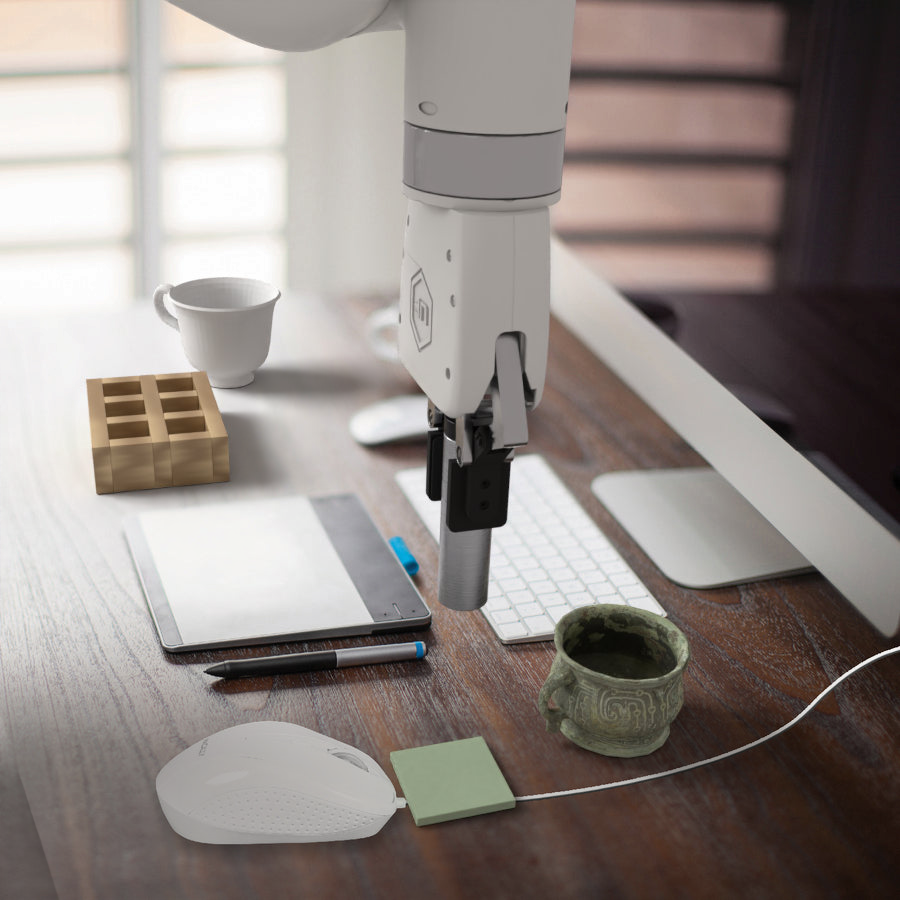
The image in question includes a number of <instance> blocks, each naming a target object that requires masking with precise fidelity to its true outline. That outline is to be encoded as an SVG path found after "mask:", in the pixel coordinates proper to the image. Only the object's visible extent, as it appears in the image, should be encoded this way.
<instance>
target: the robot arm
mask: <svg viewBox="0 0 900 900" xmlns="http://www.w3.org/2000/svg"><path fill="white" fill-rule="evenodd" d="M164 1H165V2H167V3H169V4H171V5H172V6H173V7H176V8H178V9H180V10H182V11H184V12H185V13H187V14H189V15H191V16H193V17H194V18H197V19H199V20H200V21H203V22H204V23H207V24H209V25H210V26H212V27H214V28H216V29H218V30H220V31H223V32H224V33H226V34H229V35H230V36H233V37H235V38H237V39H238V40H241V41H243V42H246V43H249V44H252V45H255V46H258V47H261V48H264V49H267V50H273V51H280V52H284V53H307V52H313V51H316V50H321V49H324V48H326V47H327V48H328V47H329V46H331V45H334V44H337V43H339V42H341V41H343V40H345V39H349V38H353V37H357V36H360V35H364V34H369V33H370V34H371V33H378V32H389V31H391V32H393V31H395V32H396V31H403V32H404V68H403V69H404V70H403V71H404V73H403V76H404V77H403V121H402V159H401V161H402V163H401V165H402V166H401V179H402V180H401V193H402V195H404V196H405V197H406V198H407V199H408V205H407V211H406V218H405V219H406V220H405V227H404V228H405V229H404V238H403V249H402V259H401V261H402V262H401V275H400V291H399V305H398V322H397V337H396V338H397V340H396V342H397V343H396V344H397V353H398V357H399V359H400V361H401V363H402V365H403V366H404V368H405V369H406V371H407V372H408V374H410V376H411V377H412V378H413V380H414V381H415V382H416V384H417V385H418V386H419V387H420V389H421V390H422V391H423V392H424V393H425V395H426V396H427V407H426V409H427V410H426V419H427V423H428V426H429V428H430V429H434V430H427V438H426V439H427V440H426V443H427V444H426V469H425V470H426V471H425V472H426V473H425V494H426V496H427V498H428V499H429V500H430V501H431V502H441V492H442V466H443V441H444V416H445V415H447V416H448V417H450V418H456V449H455V452H456V458H455V459H448V482H447V506H446V525H447V527H448V528H449V530H450V531H451V532H453V533H457V532H465V531H473V530H482V529H490V528H492V529H497V528H498V529H499V528H502V527H504V526H505V525H506V524H507V521H508V512H509V500H510V498H509V496H510V482H511V466H512V462H514V460H515V453H516V452H515V451H516V448H521V447H527V445H528V444H529V427H528V426H529V425H528V417H527V412H532V411H534V410H535V409H536V408H537V407H538V406H539V404H540V403H541V401H542V398H543V393H544V389H545V382H546V374H547V366H548V353H549V338H550V337H549V336H550V319H551V318H550V313H551V270H552V269H551V222H550V218H551V217H550V207H552V206H554V205H556V204H558V203H559V202H560V201H561V199H562V185H563V172H564V171H563V170H564V159H565V147H566V135H567V121H568V109H569V108H568V107H569V95H570V81H571V69H572V68H571V67H572V55H573V54H572V53H573V42H574V31H575V19H576V5H577V0H164ZM485 395H490V398H491V399H490V398H489V399H484V397H485ZM482 418H493V422H492V424H490V425H487V426H480V427H478V429H477V430H476V432H475V433H474V434H473V422H474V420H473V419H482Z"/></svg>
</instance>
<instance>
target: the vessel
mask: <svg viewBox="0 0 900 900" xmlns="http://www.w3.org/2000/svg"><path fill="white" fill-rule="evenodd" d="M553 642H554V646H555V649H556V651H557V652H556V653H555V656H554V658H553V660H552V662H551V666H550V672H549V673H548V675H547V677H546V679H545V680H544V683H543V684H542V686H541V688H540V690H539V693H538V697H537V698H538V699H537V707H538V708H537V709H538V710H539V714H540V715H541V717H542V718H545V722H546V724H545V731H546V732H547V733H548V734H550V735H552V734H557V733H559V732H561V733H562V734H563V735H564V736H565V737H566V738H567V739H568V740H570V741H571V742H573V744H575V745H577V746H579V747H581V748H583V749H585V750H587V751H590V752H593V753H596V754H600V755H602V756H605V757H617V758H624V759H626V758H627V759H630V758H635V757H642V756H648V755H650V754H651V753H653V752H655V751H656V750H658V749H660V748H661V747H663V745H664V744H665V742H666V741H667V739H668V737H669V736H670V734H671V725H670V724H672V723H673V722H674V721H675V720H676V718H677V716H678V715H679V713H680V711H681V709H682V708H683V704H684V700H685V698H684V696H685V692H684V676H683V675H684V674H685V672H687V671H686V670H687V669H688V667H689V664H690V662H691V657H692V644H691V643H690V640H689V639H688V635H686V634H685V633H684V632H682V631H681V630H680V629H679V627H678V626H676V625H675V623H673V622H672V621H671V620H669V619H668V618H665V617H664V616H662V615H660V614H658V613H656V612H653V611H650V610H648V609H643V608H639V607H635V606H631V605H628V604H617V603H606V602H605V603H598V604H597V603H596V604H589V605H584V606H580V607H576V608H574V609H572V610H571V611H569V612H568V613H565V614H564V615H563V616H562V617H561V618H560V619H559V621H558V622H557V623H556V625H555V627H554V638H553ZM550 699H552V702H553V704H554V705H555V707H552V708H550V707H549V701H550Z"/></svg>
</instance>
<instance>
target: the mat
mask: <svg viewBox="0 0 900 900" xmlns="http://www.w3.org/2000/svg"><path fill="white" fill-rule="evenodd" d="M389 760H390V763H391V766H392V768H393V771H394V774H395V775H396V778H397V780H398V782H399V785H400V788H401V791H402V793H403V796H404V797H405V800H406V802H407V805H408V808H409V810H410V812H411V815H412V818H413V820H414V822H415V825H416V827H423V826H428V825H433V824H439V823H443V822H449V821H453V820H459V819H464V818H469V817H473V816H479V815H483V814H489V813H494V812H499V811H504V810H510V809H515V808H516V803H517V802H516V801H517V800H516V798H515V795H514V794H513V792H512V790H511V789H510V786H509V784H508V783H507V781H506V778H505V777H504V775H503V773H502V771H501V769H500V767H499V765H498V763H497V762H496V760H495V758H494V756H493V753H492V752H491V750H490V748H489V746H488V745H487V742H486V741H485V739H484V737H483V735H481V736H475V737H470V738H464V739H457V740H452V741H446V742H441V743H440V742H439V743H435V744H429V745H424V746H418V747H412V748H406V749H405V748H404V749H399V750H394V751H390V753H389Z"/></svg>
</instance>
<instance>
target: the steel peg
mask: <svg viewBox="0 0 900 900" xmlns="http://www.w3.org/2000/svg"><path fill="white" fill-rule="evenodd" d="M473 420H474V422H473V434H474V433H475V432H476V430H477V429H478V427H480V426H487V425H490V424H492V422H493V418H482V419H473ZM455 449H456V418H450V417H448V416H447V415H445V416H444V441H443V466H442V492H441V501H440V517H439V518H440V521H439V543H438V549H439V550H438V569H437V591H436V592H437V595H436V597H437V600H438V602H439V604H440V605H442V607H445V608H447V609H449V610H452V611H457V612H472V611H476V610H479V609H481V608H483V607H484V606H485V605H486V604H487V602H488V599H489V584H490V569H491V568H490V567H491V551H492V534H493V528H490V529H482V530H473V531H465V532H457V533H453V532H451V531H450V530H449V528H448V527H447V525H446V506H447V482H448V459H455V458H456V452H455Z"/></svg>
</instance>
